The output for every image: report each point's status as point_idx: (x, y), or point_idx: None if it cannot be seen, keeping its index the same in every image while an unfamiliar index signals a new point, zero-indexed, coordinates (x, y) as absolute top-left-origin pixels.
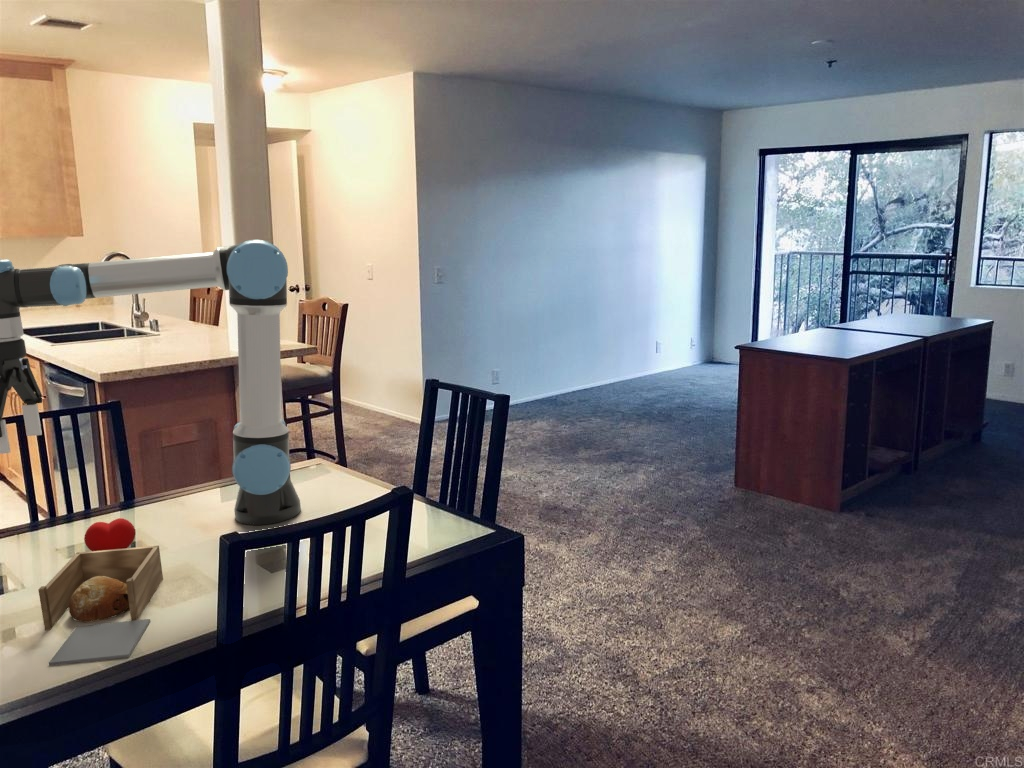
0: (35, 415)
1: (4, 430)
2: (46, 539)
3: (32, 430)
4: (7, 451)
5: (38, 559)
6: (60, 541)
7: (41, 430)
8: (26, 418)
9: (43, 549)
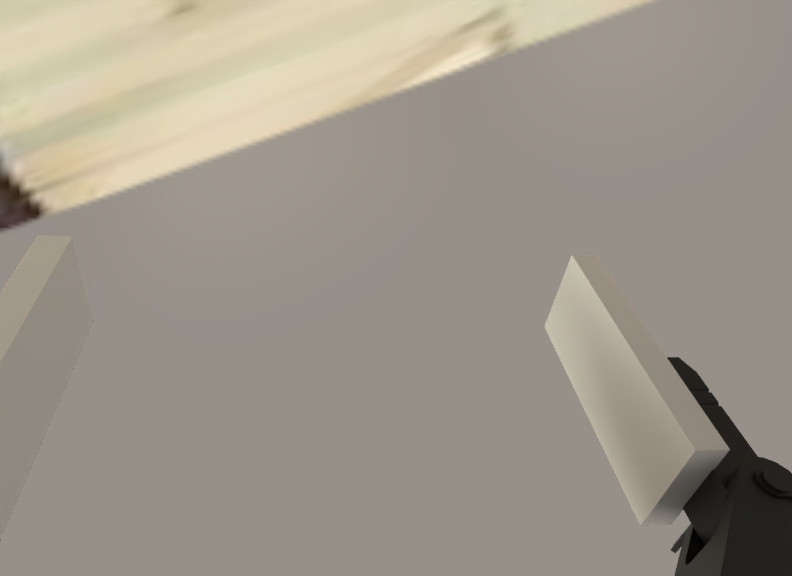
0: (2, 379)
1: (677, 376)
2: (78, 84)
3: (69, 311)
4: (601, 267)
5: (268, 47)
6: (100, 24)
7: (26, 254)
8: (37, 421)
9: (176, 62)
